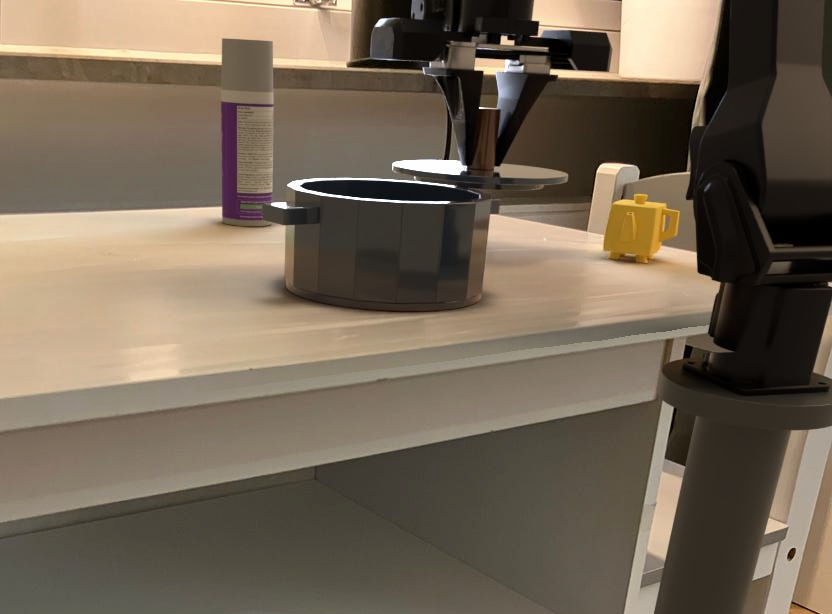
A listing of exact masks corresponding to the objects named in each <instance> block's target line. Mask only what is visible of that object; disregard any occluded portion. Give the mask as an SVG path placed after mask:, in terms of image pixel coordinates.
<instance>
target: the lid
mask: <svg viewBox="0 0 832 614" xmlns="http://www.w3.org/2000/svg"><path fill="white" fill-rule="evenodd" d="M500 113H501V109H497V107H495V108H494V107H479V115H478V124H477V132H476V140H475V147H474V152H473V156H472V160H471V164H470V166H464V165H462V164H461V161H460V160H447V159H446V160H442V159H438V160H437V159H416V160H415V159H414V160H411V159H410V160H400V161H395V162H393V163H392V168H391V169H392V171H393V172H394V173H397V174H400V175H404V176H409V177H414V181H415V182H425V183H434V184H443V185H451V186H457V187H463V188H469V189H475V190H485V191H486V190H487V191H534V190H535V191H536V190H542V189H544V187H545V186H549V185H550V186H551V185H560V184H566V183H567V182H568V180H569V174H568V173H567V172H564V171H561V170H557V169H551V168H545V167H537V166H530V165H521V164H512V163H511V164H510V163H502V164H501V166H500V167H495V161H496V151H497V141H498V132H499V122H500Z"/></svg>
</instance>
